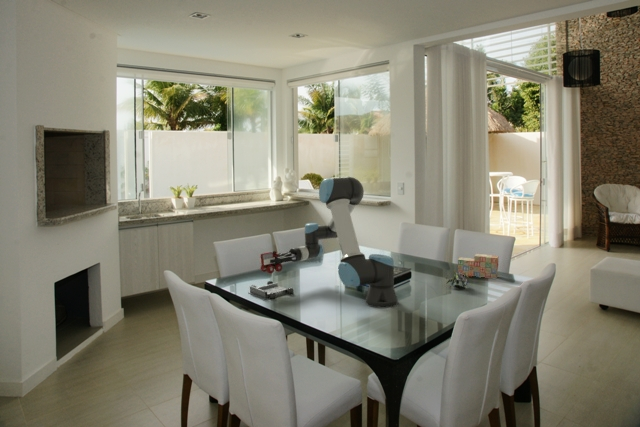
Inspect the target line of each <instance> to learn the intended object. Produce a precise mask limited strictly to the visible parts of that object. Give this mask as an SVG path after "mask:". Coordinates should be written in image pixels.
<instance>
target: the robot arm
mask: <svg viewBox="0 0 640 427" xmlns="http://www.w3.org/2000/svg"><path fill="white" fill-rule="evenodd" d="M364 192H365V191H364V186H363V184H362V183H361V181H359V180H358V179H357V178H356V177H352V176H351V177H350V176H347V177H330V178H325V179H322V181H321V182H320V185H319V189H318V197H319V201H321V203H323V204H325V205H326V208H327V209H328V210H330V212H331V216H332V218H331V219H330V221H329V222H328V224H327V225H319V223H316V222H308V223H305V224H304V242H305V243H304V245H303V246H297V247H293V248H290V249H289V251H286V252H282V251H280V252H278V253H277V252H276V254H278V255H279V256H280V257H277V256H276V259H275V258H269V259H264V265H267V264H272V263H275V262H276V263H278V262H279V263H281V264H284V263H289V262H291V263H297V262H301V261H302V262H304V261H306V260H310V259H315V258H318V257H321V256H322V255H323V253H324V248H323V246H322V244H320V243H319V240H328V239H330V240H331V239H337V240H338V244H339V247H340V251H341V256H342V257H341V258H340V260H339V261H340V263H339V264H338V266H337V267H338V271H337V273H338V277H339V279H340V281H341V282H342V283H343V285H344V286H346V287H348V288H350V287H351V288H352V287H356V288H357V287H359V286H366V285H368V290H367V293H366V296H365V304H366V305H368V306H370V307H374V308H391V307H394V306H396V305H398V296H397V295H396V291H395V288H394V287H395V286H394V284H395V283H394V282H395V278H394V277H395V270H394V269H395V264H394V262H395V261H394V258H393V257H392V256H390V255H385V254H377V253H372V254H369V255H368V258H367V259H366V256H365V254H364V253H363V252H361V248H360V246H359V242H358V239H357V235H356V231H355V227H354V223H353V220H352V216H351V214H352V212H353V211H354V209H355V208H356V206H357V205H360V203H361V202H362V200H363V199H364V194H365V193H364ZM259 264H261V265H262V260H261V257H259Z"/></svg>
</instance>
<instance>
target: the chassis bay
mask: <svg viewBox="0 0 640 427" xmlns="http://www.w3.org/2000/svg"><path fill="white" fill-rule="evenodd" d="M248 294H250V295H252V296H253V297H257V298H259V299H262V300H270V299H271V300H274V299H276V298H277V297H280V296H284V295H287V294H289V295H293V294H294V289H293V287H288V288H286V287H284V286H280V285H279V282H273V281H271V280H268V281H267V283H266V285H262V286H258V287H257V286H256V285H254V284H252V285H250V286H249V291H248Z"/></svg>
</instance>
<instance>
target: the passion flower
mask: <svg viewBox="0 0 640 427" xmlns="http://www.w3.org/2000/svg"><path fill="white" fill-rule="evenodd" d="M453 272H454V275H453V277H451V278H450V277H448V275H445V277H446V278H445V279H448V281H446V283H445V284H446V285H447V284H448V283H450V286H449V288H452V286H453V285H454V284H455V283H456V285H459V283H460V282H461V286H462V288H463V289H467V288H468V287H467V285H468V283H469V282H468V279H469V278H470V276H468V275H467V274H466V272H464V276H463V274H461V273H460V272H458V270H457V271H456V270H455V269H453ZM466 277H467V278H466Z"/></svg>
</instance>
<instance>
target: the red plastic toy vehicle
mask: <svg viewBox="0 0 640 427" xmlns="http://www.w3.org/2000/svg"><path fill="white" fill-rule="evenodd" d="M276 256H277V257H280V256H279V255H278V254H277V251H276V250H273V251H272V252H271V251H269V252H263V253H261V254H260V258H261V260H262V264H261V265H260V270H261V272H264V273H265V272H267V273H268V274H273V273H274V272H275V271H276V272H281V271H282V270H283V265H282V264H283V263H279V262H278V263H276V262H275V263H272V264H267V265H264V259H269V258H275V259H276Z"/></svg>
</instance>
